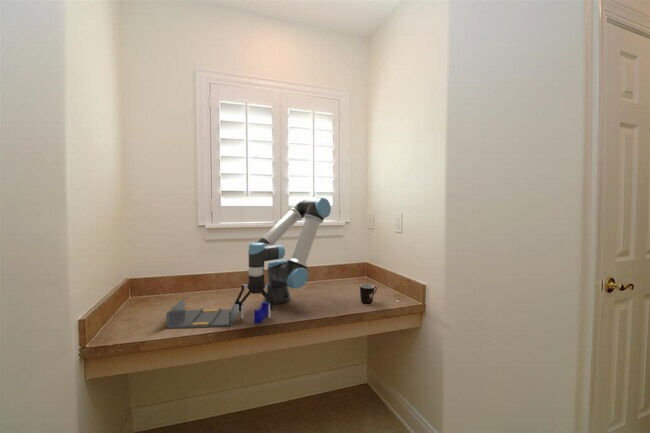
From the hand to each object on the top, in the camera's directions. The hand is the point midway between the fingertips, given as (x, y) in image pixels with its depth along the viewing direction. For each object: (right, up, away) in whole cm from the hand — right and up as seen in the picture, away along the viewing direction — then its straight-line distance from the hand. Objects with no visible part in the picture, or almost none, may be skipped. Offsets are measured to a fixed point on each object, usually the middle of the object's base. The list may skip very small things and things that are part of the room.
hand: (256, 317), depth 136 cm
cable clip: (+2, -1, 0) cm, 2 cm away
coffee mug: (+60, 0, +23) cm, 64 cm away
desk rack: (-24, 0, -3) cm, 24 cm away
